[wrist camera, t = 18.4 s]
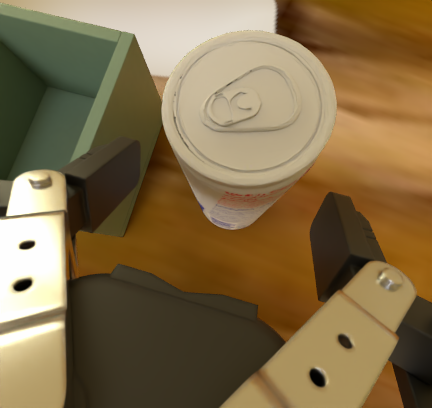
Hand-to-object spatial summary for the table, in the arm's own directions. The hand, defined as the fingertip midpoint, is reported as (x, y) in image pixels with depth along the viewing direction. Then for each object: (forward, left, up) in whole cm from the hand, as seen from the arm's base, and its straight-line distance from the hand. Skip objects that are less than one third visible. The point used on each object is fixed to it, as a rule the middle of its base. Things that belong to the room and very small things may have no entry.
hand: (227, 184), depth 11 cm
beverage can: (0, +2, -12) cm, 12 cm away
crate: (-14, +2, -12) cm, 18 cm away
